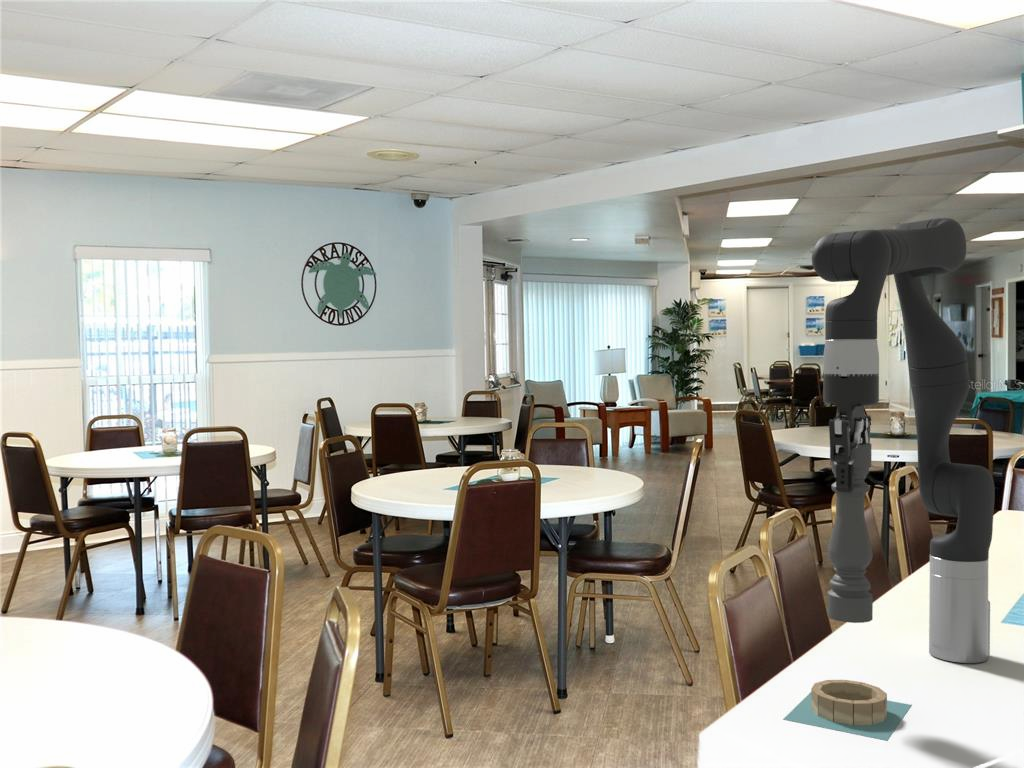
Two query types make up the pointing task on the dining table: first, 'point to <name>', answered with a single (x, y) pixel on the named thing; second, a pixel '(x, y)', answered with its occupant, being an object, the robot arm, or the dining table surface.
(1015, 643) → the dining table surface
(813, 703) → the segmented wooden ring
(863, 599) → the candle holder
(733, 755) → the dining table surface
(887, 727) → the runner mat
